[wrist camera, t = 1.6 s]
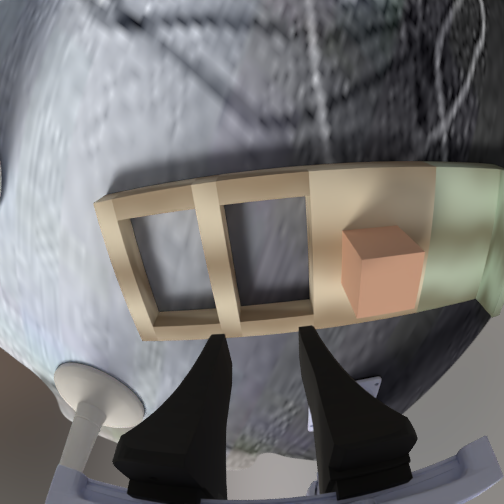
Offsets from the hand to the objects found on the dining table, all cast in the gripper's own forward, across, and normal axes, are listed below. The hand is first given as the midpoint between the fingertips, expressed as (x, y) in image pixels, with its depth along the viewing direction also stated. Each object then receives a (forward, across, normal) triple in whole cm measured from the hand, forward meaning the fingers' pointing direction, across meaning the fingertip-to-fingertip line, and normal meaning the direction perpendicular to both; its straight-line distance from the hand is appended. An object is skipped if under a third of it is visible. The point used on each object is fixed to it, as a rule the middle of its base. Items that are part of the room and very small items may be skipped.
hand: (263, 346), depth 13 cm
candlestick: (+10, +22, +18) cm, 30 cm away
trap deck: (+9, -5, 0) cm, 11 cm away
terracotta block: (+7, -8, 0) cm, 11 cm away
